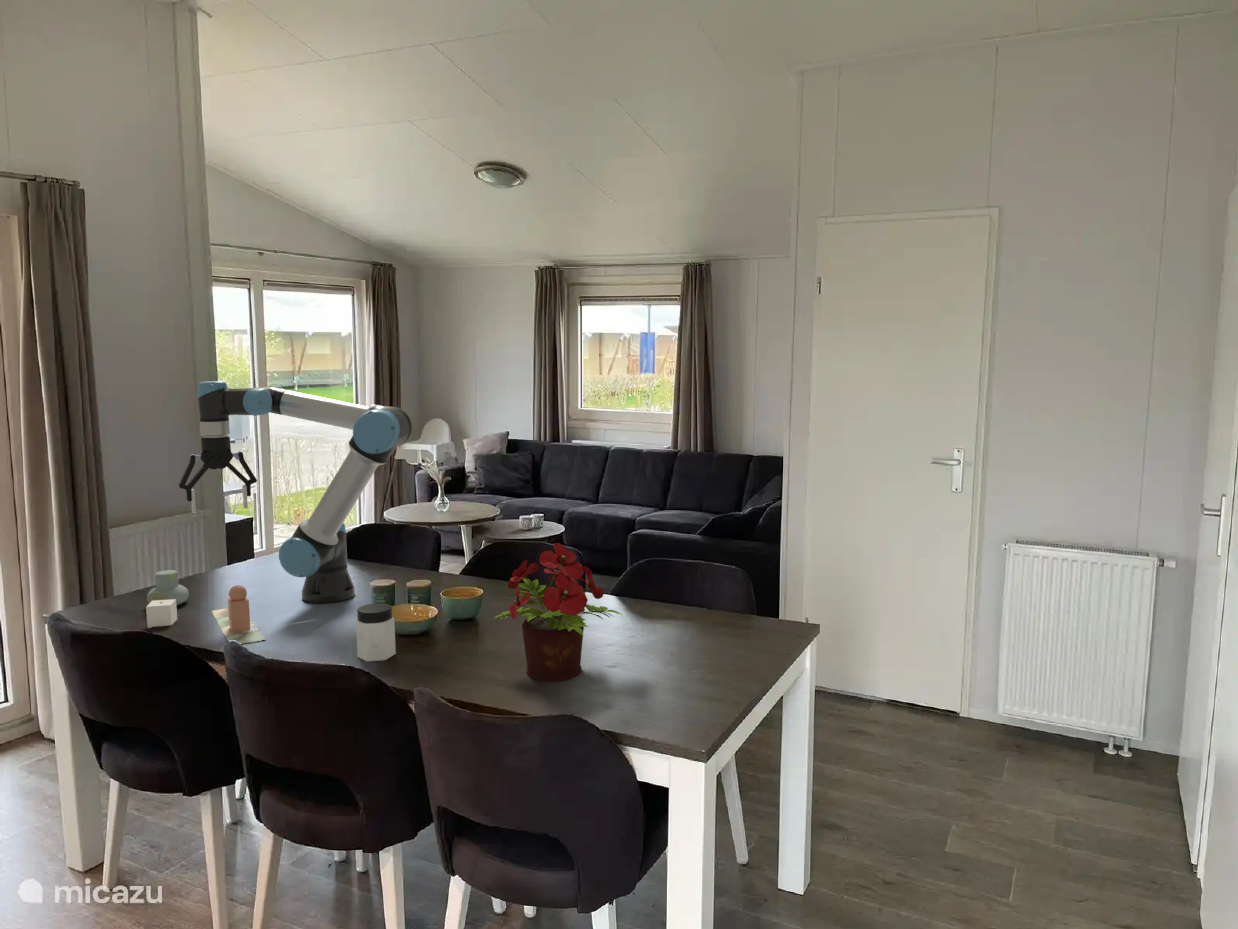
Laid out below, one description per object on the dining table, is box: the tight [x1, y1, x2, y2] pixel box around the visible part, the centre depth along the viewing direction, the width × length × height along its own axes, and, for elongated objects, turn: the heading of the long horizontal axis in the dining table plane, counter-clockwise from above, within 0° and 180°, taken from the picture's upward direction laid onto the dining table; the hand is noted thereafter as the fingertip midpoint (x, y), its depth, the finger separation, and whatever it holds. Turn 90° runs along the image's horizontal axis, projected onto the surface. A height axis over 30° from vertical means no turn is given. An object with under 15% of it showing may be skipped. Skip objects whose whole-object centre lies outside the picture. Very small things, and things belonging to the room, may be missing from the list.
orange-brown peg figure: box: [227, 584, 251, 632], centre depth 237 cm, size 4×4×12 cm
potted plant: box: [491, 542, 622, 682], centre depth 205 cm, size 30×27×30 cm
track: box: [211, 608, 267, 645], centre depth 241 cm, size 8×36×1 cm, turn 31°
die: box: [145, 599, 178, 629], centre depth 243 cm, size 6×6×6 cm
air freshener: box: [146, 569, 190, 606], centre depth 260 cm, size 11×8×10 cm
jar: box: [355, 603, 397, 663], centre depth 216 cm, size 9×8×12 cm
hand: (220, 510), depth 254 cm, fingers open, 13 cm apart
